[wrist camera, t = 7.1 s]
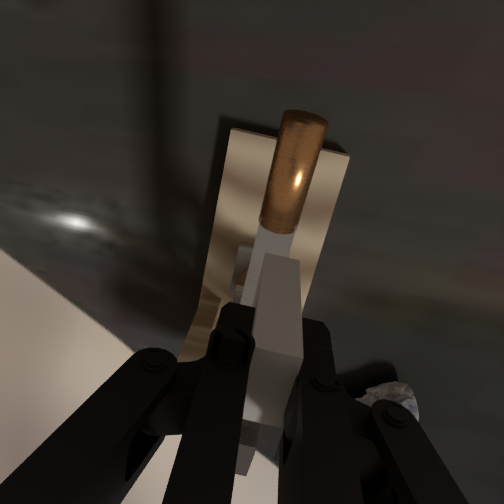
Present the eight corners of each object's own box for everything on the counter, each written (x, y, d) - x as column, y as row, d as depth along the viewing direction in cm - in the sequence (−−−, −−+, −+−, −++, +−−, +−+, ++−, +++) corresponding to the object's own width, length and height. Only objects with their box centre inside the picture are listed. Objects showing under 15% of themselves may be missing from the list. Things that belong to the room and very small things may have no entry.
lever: (260, 89, 26) (244, 126, 20) (353, 111, 26) (364, 155, 20) (201, 393, 44) (183, 461, 38) (255, 406, 45) (246, 476, 38)
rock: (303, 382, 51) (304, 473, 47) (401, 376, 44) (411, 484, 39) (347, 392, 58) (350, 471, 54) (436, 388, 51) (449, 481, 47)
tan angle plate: (233, 127, 39) (207, 151, 27) (347, 154, 39) (372, 189, 27) (196, 321, 48) (165, 403, 36) (289, 342, 48) (289, 432, 36)
